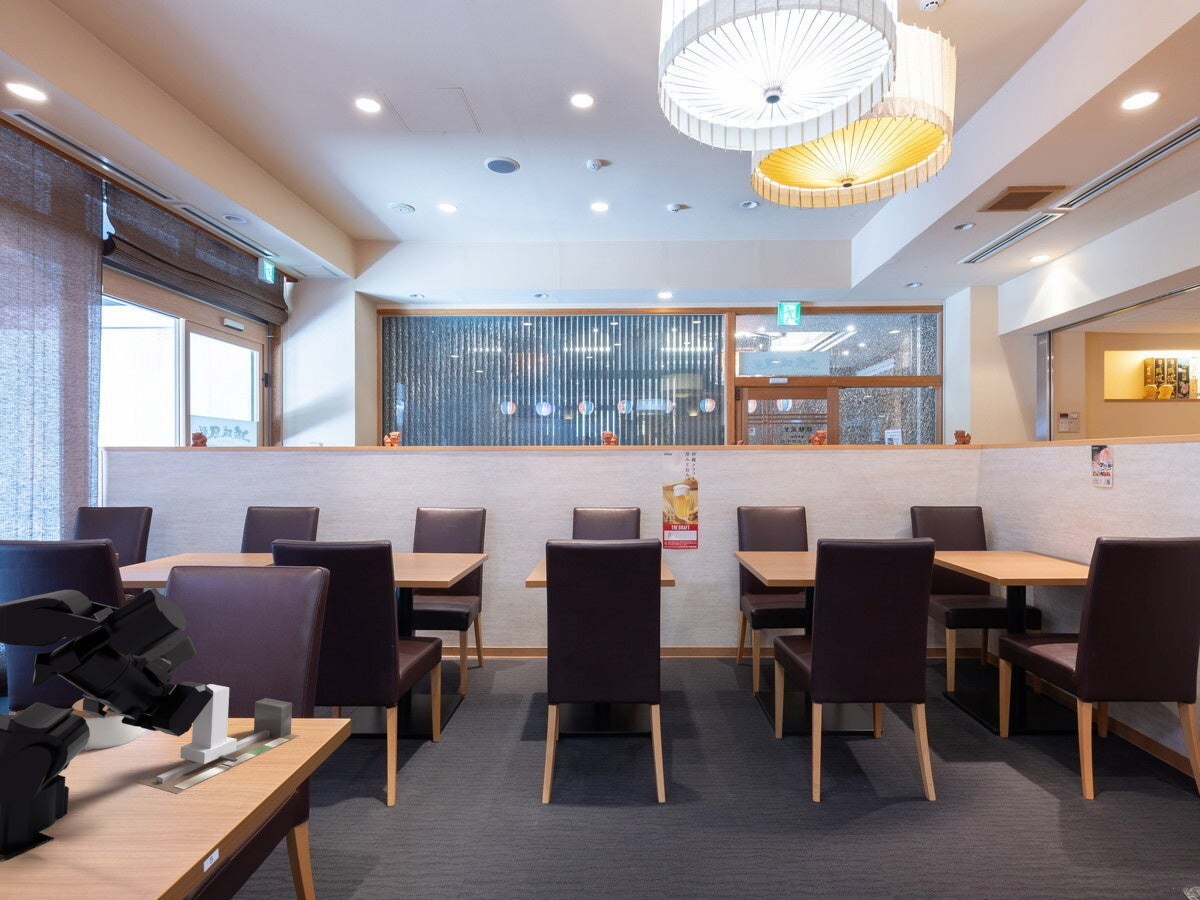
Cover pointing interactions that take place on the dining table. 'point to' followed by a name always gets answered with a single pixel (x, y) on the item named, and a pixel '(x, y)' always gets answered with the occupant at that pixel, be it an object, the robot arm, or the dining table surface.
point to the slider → (211, 730)
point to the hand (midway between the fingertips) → (188, 728)
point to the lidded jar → (107, 729)
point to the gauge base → (267, 735)
